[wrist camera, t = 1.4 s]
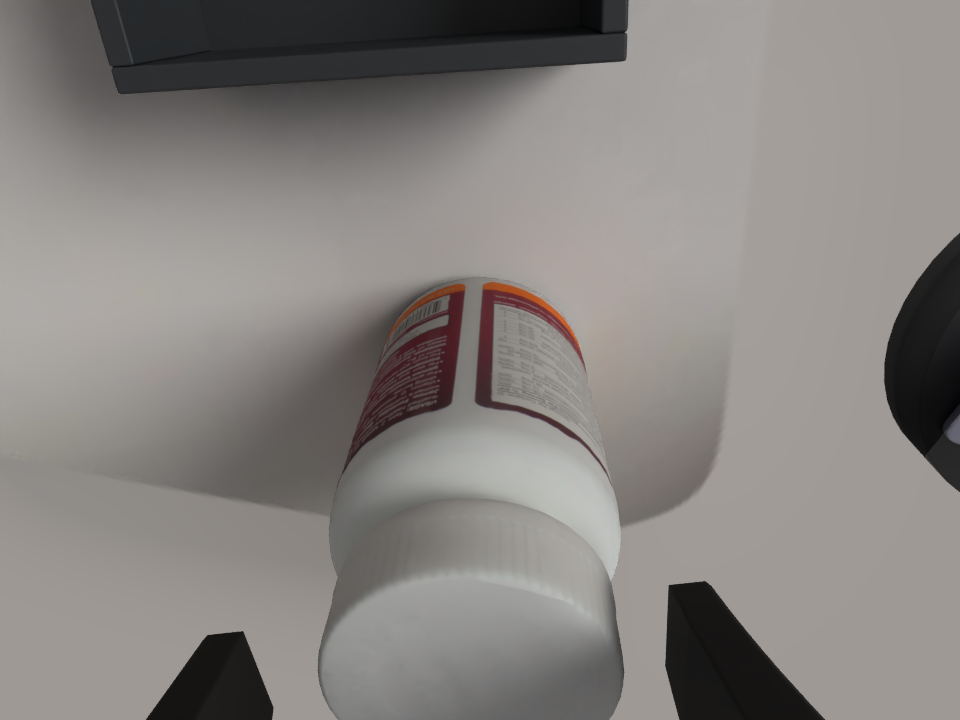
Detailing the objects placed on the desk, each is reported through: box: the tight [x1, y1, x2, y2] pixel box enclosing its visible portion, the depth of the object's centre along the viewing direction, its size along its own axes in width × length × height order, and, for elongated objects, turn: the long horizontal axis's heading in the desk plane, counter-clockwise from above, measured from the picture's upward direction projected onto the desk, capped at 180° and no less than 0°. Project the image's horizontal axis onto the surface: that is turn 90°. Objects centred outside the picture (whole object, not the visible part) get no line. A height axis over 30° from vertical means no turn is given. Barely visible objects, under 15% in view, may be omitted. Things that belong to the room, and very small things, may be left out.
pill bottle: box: [318, 278, 624, 720], centre depth 16 cm, size 6×6×11 cm
